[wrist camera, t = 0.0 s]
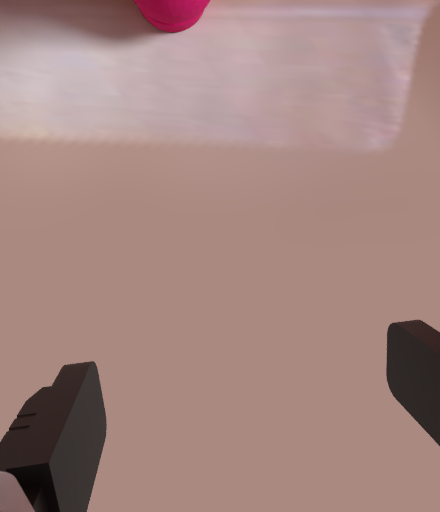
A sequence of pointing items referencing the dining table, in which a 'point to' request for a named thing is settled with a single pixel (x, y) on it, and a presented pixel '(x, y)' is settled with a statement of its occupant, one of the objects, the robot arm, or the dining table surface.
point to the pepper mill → (172, 13)
